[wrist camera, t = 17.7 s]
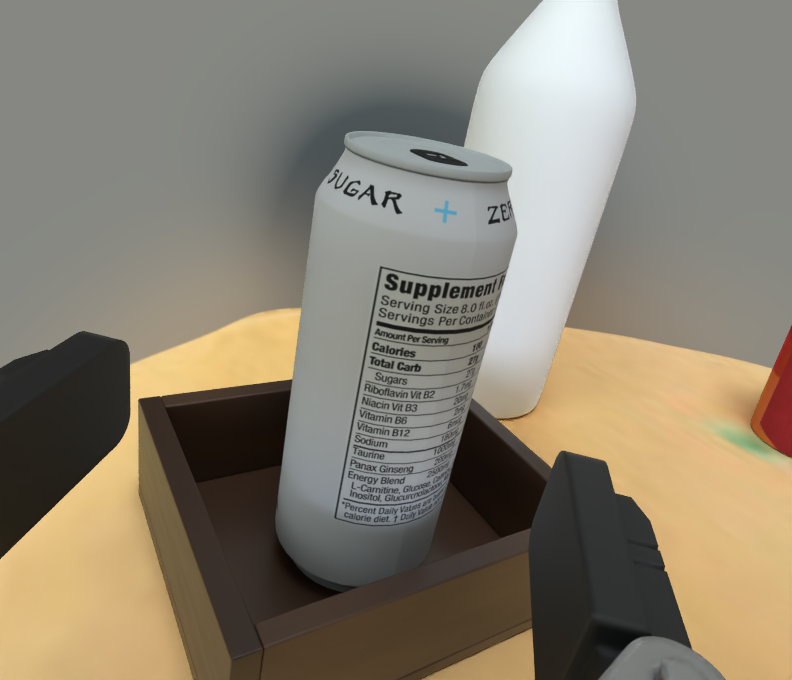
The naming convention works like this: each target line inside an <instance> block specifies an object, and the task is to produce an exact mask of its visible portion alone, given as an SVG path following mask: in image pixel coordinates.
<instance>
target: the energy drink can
mask: <svg viewBox="0 0 792 680" xmlns="http://www.w3.org/2000/svg"><path fill="white" fill-rule="evenodd" d="M344 143H345V147H346V148H345V151H344V153H343V155H342V156H341V158H340V159H339V161H338V162H337V163H336V165H335V166H334V168H333V169H332V170H331V172H330V173H329V174H328V176H327V177H326V178H325V180H324V181H323V182H322V184H321V185H320V187H319V188H318V190H317V192H316V196H315V204H314V212H313V220H312V229H311V236H310V245H309V252H308V260H307V268H306V276H305V284H304V292H303V301H302V308H301V316H300V324H299V332H298V340H297V348H296V356H295V364H294V372H293V380H292V388H291V396H290V404H289V412H288V420H287V428H286V436H285V444H284V452H283V460H282V468H281V476H280V484H279V492H278V500H277V508H276V516H275V525H276V532H277V535H278V538H279V541H280V543H281V545H282V546H283V548H284V550H285V551H286V553H287V554H288V555H289V556H290V557H291V558H292V559H293V561H294V563H295V564H296V566H297V567H298V568H299V569H300V570H301V571H302V572H303V573H304V574H305V575H306V576H307V577H309V578H310V579H312V580H313V581H314V582H316V583H318V584H320V585H322V586H324V587H327V588H329V589H333V590H336V591H340V592H346V591H349V590H352V589H355V588H358V587H361V586H364V585H367V584H370V583H372V582H375V581H378V580H381V579H384V578H387V577H390V576H393V575H396V574H399V573H402V572H404V571H407V570H410V569H413V568H416V567H418V566H419V565H420V564H421V563H422V562H423V561H424V559H425V557H426V555H427V553H428V551H429V549H430V545H431V542H432V538H433V535H434V531H435V528H436V524H437V520H438V517H439V513H440V510H441V506H442V503H443V499H444V495H445V492H446V488H447V485H448V481H449V478H450V474H451V470H452V467H453V463H454V460H455V456H456V453H457V449H458V445H459V442H460V438H461V435H462V431H463V428H464V424H465V420H466V417H467V413H468V410H469V406H470V402H471V399H472V395H473V392H474V388H475V385H476V381H477V377H478V374H479V370H480V367H481V363H482V360H483V356H484V352H485V349H486V345H487V342H488V338H489V335H490V331H491V327H492V324H493V320H494V317H495V313H496V310H497V306H498V302H499V299H500V295H501V292H502V288H503V285H504V281H505V277H506V274H507V270H508V267H509V263H510V259H511V256H512V252H513V249H514V245H515V242H516V238H517V225H516V221H515V216H514V212H513V208H512V204H511V200H510V196H509V192H508V185H507V183H508V180H509V178H510V177H511V175H512V167H511V166H510V165H509V164H508V163H506V162H504V161H502V160H500V159H497V158H495V157H492V156H489V155H487V154H484V153H481V152H477V151H474V150H471V149H467V148H463V147H460V146H455V145H451V144H447V143H443V142H438V141H434V140H429V139H423V138H418V137H412V136H406V135H399V134H392V133H383V132H370V131H357V132H350V133H347V134H346V136H345V141H344Z"/></svg>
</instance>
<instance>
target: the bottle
mask: <svg viewBox="0 0 792 680" xmlns="http://www.w3.org/2000/svg"><path fill="white" fill-rule="evenodd" d="M635 108H636V92H635V85H634V79H633V74H632V69H631V64H630V59H629V55H628V50H627V46H626V41H625V37H624V33H623V28H622V23H621V19H620V14H619V9H618V3H617V0H543V1H542V2H541V3H540V4H539V5H538V7H537V8H536V9H535V10H534V11H533V12H532V13H531V14H530V16H529V17H528V18H527V19H526V20H525V21H524V22H523V24H522V25H521V26H520V27H519V28H518V29H517V30H516V32H515V33H514V34H513V35H512V36H511V37H510V38H509V40H508V41H507V42H506V43H505V44H504V46H503V47H502V48H501V49H500V50H499V52H498V53H497V54H496V55H495V57H494V58H493V59H492V60H491V62H490V63H489V65H488V66H487V68H486V69H485V70H484V73H483V75H482V77H481V80H480V82H479V85H478V89H477V93H476V97H475V101H474V105H473V109H472V113H471V118H470V122H469V127H468V131H467V136H466V140H465V145H464V148H467V149H471V150H474V151H477V152H481V153H484V154H487V155H489V156H492V157H495V158H497V159H500V160H502V161H504V162H506V163H508V164H509V165H510V166H511V167H512V175H511V177H510V178H509V180H508V183H507V185H508V192H509V196H510V200H511V204H512V208H513V212H514V216H515V221H516V225H517V238H516V242H515V245H514V249H513V252H512V256H511V259H510V263H509V267H508V270H507V274H506V277H505V281H504V285H503V288H502V292H501V295H500V299H499V302H498V306H497V310H496V313H495V317H494V320H493V324H492V327H491V331H490V335H489V338H488V342H487V345H486V349H485V352H484V356H483V360H482V363H481V367H480V370H479V374H478V377H477V381H476V385H475V388H474V392H473V395H472V398H473V399H474V400H475V401H476V402H478V403H479V404H480V405H481V406H482V407H483V408H484V409H485V410H487V411H488V412H489V413H490V414H491V415H492V416H493V417H494V418H496V419H498V418H514V417H519V416H522V415H524V414H527V413H529V412H530V411H532V410H533V409H534V408H535V406H536V405H537V404H538V402H539V399H540V397H541V394H542V391H543V388H544V385H545V382H546V379H547V376H548V373H549V370H550V367H551V364H552V361H553V358H554V356H555V353H556V350H557V347H558V344H559V341H560V338H561V335H562V332H563V329H564V326H565V323H566V320H567V317H568V314H569V311H570V308H571V305H572V302H573V299H574V296H575V293H576V290H577V287H578V284H579V281H580V278H581V275H582V272H583V269H584V266H585V263H586V261H587V258H588V255H589V252H590V249H591V246H592V243H593V240H594V237H595V234H596V231H597V228H598V225H599V222H600V219H601V216H602V213H603V210H604V207H605V204H606V201H607V198H608V195H609V192H610V189H611V186H612V183H613V180H614V177H615V174H616V172H617V168H618V165H619V163H620V160H621V156H622V154H623V151H624V148H625V145H626V142H627V139H628V135H629V132H630V129H631V126H632V122H633V119H634V115H635Z"/></svg>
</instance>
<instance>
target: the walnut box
mask: <svg viewBox="0 0 792 680" xmlns="http://www.w3.org/2000/svg"><path fill="white" fill-rule="evenodd" d="M292 380H293V379H292ZM292 380H284V381H276V382H268V383H261V384H253V385H245V386H237V387H229V388H221V389H213V390H205V391H198V392H190V393H182V394H174V395H166V396H162V397H160V396H157V397H149V398H141V399H139V400H138V420H139V495H140V498H141V502H142V505H143V509H144V512H145V515H146V519H147V522H148V526H149V529H150V532H151V536H152V539H153V543H154V546H155V549H156V553H157V556H158V560H159V563H160V566H161V570H162V573H163V577H164V580H165V583H166V587H167V590H168V594H169V597H170V600H171V604H172V607H173V611H174V614H175V617H176V621H177V624H178V628H179V631H180V634H181V638H182V641H183V645H184V648H185V651H186V655H187V658H188V662H189V665H190V668H191V672H192V675H193V678H194V680H419V679H421V678H423V677H425V676H427V675H430V674H432V673H434V672H436V671H438V670H440V669H443V668H445V667H447V666H449V665H451V664H453V663H455V662H458V661H460V660H462V659H464V658H466V657H468V656H471V655H473V654H475V653H477V652H479V651H481V650H483V649H486V648H488V647H490V646H492V645H494V644H496V643H498V642H501V641H503V640H505V639H507V638H509V637H511V636H514V635H516V634H518V633H520V632H522V631H524V630H526V629H529V628H531V627H532V611H531V592H530V574H529V555H528V549H529V538H530V532H531V527H532V523H533V520H534V517H535V514H536V511H537V508H538V506H539V503H540V500H541V498H542V495H543V492H544V490H545V487H546V484H547V481H548V479H549V476H550V473H551V471H552V468H551V467H550V466H548V465H547V464H546V463H545V462H544V461H543V460H542V459H541V458H539V457H538V456H537V455H536V454H535V453H534V452H533V451H532V450H530V449H529V448H528V447H527V446H526V445H525V444H524V443H523V442H521V441H520V440H519V439H518V438H517V437H516V436H515V435H514V434H512V433H511V432H510V431H509V430H508V429H507V428H506V427H505V426H503V425H502V424H501V423H500V422H499V421H498V420H497V419H496V418H494V417H493V416H492V415H491V414H490V413H489V412H488V411H487V410H485V409H484V408H483V407H482V406H481V405H480V404H479V403H478V402H476V401H475V400H474V399H473V398H472V399H471V402H470V406H469V410H468V413H467V417H466V420H465V424H464V428H463V431H462V435H461V438H460V442H459V445H458V449H457V453H456V456H455V460H454V463H453V467H452V470H451V474H450V478H449V481H448V485H447V488H446V492H445V495H444V499H443V503H442V506H441V510H440V513H439V517H438V520H437V524H436V528H435V531H434V535H433V538H432V542H431V545H430V549H429V551H428V553H427V555H426V557H425V559H424V561H423V562H422V563H421V564H420V565H419V566H418V567H416V568H413V569H410V570H407V571H404V572H402V573H399V574H396V575H393V576H390V577H387V578H384V579H381V580H378V581H375V582H372V583H370V584H367V585H364V586H361V587H358V588H355V589H352V590H349V591H346V592H340V591H336V590H333V589H329V588H327V587H324V586H322V585H320V584H318V583H316V582H314V581H313V580H312V579H310V578H309V577H307V576H306V575H305V574H304V573H303V572H302V571H301V570H300V569H299V568H298V567H297V566H296V564H295V563H294V561H293V559H292V558H291V557H290V556H289V555H288V554H287V553H286V551H285V550H284V548H283V546H282V545H281V543H280V541H279V538H278V535H277V532H276V525H275V516H276V508H277V500H278V492H279V484H280V476H281V468H282V460H283V452H284V444H285V436H286V428H287V420H288V412H289V404H290V396H291V388H292Z"/></svg>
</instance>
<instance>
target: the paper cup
mask: <svg viewBox="0 0 792 680" xmlns="http://www.w3.org/2000/svg"><path fill="white" fill-rule="evenodd" d="M751 427H752V429H753V431H754V432H755V433H756V434H757V435H758V436H759V437H760V438H761V439H762V440H763V441H764V442H766V443H767V444H769V445H770V446H772V447H773V448H775V449H776V450H778V451H780V452H782V453H784V454H786V455H788V456H790V457H792V326H791V329H790V331H789V333H788V335H787V337H786V340H785V342H784V344H783V346H782V349H781V351H780V353H779V356H778V358H777V360H776V362H775V365H774V367H773V369H772V372H771V374H770V376H769V379H768V381H767V383H766V385H765V388H764V390H763V392H762V395H761V397H760V400H759V402H758V404H757V407H756V409H755V412H754V415H753V417H752V420H751Z"/></svg>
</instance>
